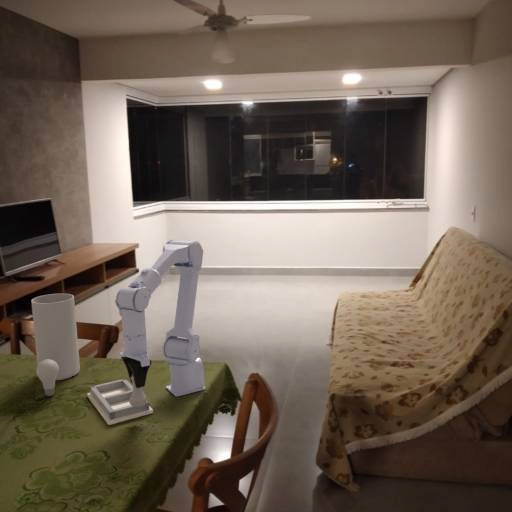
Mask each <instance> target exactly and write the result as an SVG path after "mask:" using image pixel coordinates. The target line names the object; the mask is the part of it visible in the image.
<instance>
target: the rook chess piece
mask: <svg viewBox="0 0 512 512" xmlns="http://www.w3.org/2000/svg"><path fill="white" fill-rule="evenodd" d="M131 380H132V381H133V383H131V385H132V386H133V391H132V394H131V397H130V405H131V406H133V407H140V406H143V405H145V404H146V402H147V401H148V400H147V396H146V394H145V392H144V389H143V388H144V387H140V388H136V386H135V382H134V377H133V374H132V377H131Z"/></svg>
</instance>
